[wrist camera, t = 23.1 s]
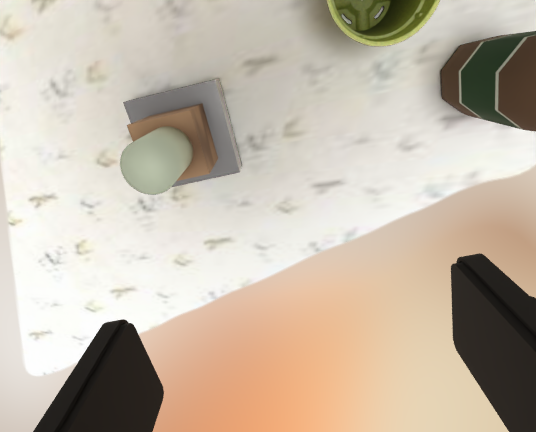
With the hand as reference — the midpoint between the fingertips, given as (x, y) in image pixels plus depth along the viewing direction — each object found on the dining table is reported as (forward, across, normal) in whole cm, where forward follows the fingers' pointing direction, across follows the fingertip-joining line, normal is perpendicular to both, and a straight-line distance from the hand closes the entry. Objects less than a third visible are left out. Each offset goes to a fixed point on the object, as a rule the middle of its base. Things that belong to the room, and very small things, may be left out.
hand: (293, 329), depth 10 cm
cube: (+30, +10, -2) cm, 32 cm away
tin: (+24, +10, -2) cm, 26 cm away
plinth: (+33, +10, -2) cm, 35 cm away
